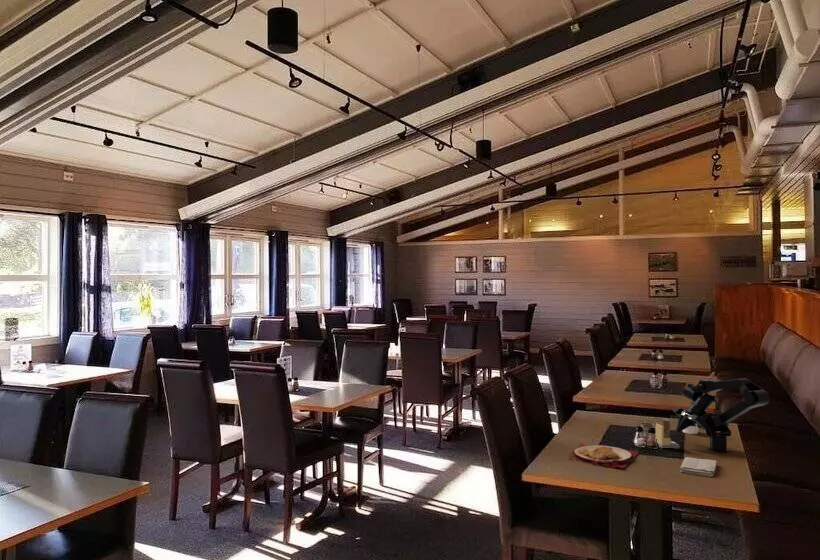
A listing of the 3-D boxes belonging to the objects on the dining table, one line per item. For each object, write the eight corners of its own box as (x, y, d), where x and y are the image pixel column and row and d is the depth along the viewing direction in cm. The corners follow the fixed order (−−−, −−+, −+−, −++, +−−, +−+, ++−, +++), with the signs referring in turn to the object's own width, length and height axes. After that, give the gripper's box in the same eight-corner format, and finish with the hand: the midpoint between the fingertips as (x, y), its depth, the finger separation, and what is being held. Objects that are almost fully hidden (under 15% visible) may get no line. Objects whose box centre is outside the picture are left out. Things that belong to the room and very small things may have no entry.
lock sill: (672, 444, 276) (672, 423, 276) (679, 448, 269) (679, 426, 269) (655, 444, 275) (655, 423, 275) (661, 448, 269) (662, 426, 269)
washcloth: (679, 474, 236) (679, 466, 236) (684, 461, 252) (684, 454, 252) (714, 479, 230) (714, 470, 230) (716, 466, 246) (716, 458, 246)
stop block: (665, 441, 274) (665, 418, 274) (669, 443, 270) (670, 420, 270) (658, 441, 274) (659, 418, 274) (663, 443, 270) (663, 420, 270)
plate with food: (638, 455, 261) (638, 447, 261) (623, 470, 239) (623, 461, 239) (580, 447, 274) (580, 439, 274) (561, 461, 252) (561, 452, 252)
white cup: (695, 430, 301) (696, 410, 301) (701, 434, 293) (702, 413, 293) (678, 430, 302) (679, 409, 302) (684, 434, 294) (684, 413, 294)
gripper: (725, 422, 265) (701, 449, 264) (700, 412, 283) (678, 438, 282) (708, 405, 264) (684, 432, 263) (684, 396, 282) (661, 421, 281)
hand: (677, 431), depth 272 cm, fingers closed
